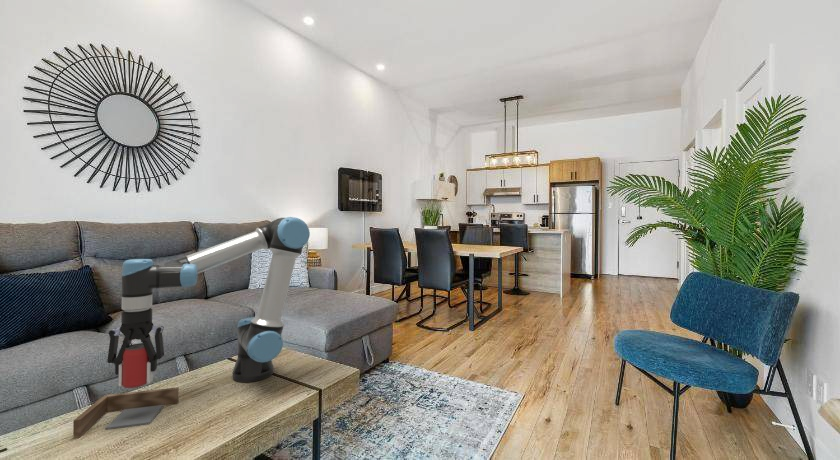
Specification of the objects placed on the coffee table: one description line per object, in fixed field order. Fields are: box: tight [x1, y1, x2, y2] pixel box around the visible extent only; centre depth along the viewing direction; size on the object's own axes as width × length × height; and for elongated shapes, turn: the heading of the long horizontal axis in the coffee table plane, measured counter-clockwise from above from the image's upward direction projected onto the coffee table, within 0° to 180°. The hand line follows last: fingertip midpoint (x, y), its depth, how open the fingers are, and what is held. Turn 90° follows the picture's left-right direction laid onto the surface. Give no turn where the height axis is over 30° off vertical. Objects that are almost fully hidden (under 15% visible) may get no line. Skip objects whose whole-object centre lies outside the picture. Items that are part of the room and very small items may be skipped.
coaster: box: [105, 405, 165, 431], centre depth 111 cm, size 11×11×1 cm
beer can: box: [122, 342, 150, 389], centre depth 111 cm, size 7×7×12 cm
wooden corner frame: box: [72, 386, 180, 439], centre depth 110 cm, size 21×16×5 cm
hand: (136, 382), depth 111 cm, fingers closed on beer can, 6 cm apart
